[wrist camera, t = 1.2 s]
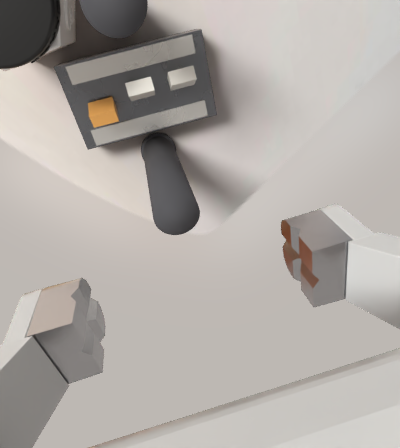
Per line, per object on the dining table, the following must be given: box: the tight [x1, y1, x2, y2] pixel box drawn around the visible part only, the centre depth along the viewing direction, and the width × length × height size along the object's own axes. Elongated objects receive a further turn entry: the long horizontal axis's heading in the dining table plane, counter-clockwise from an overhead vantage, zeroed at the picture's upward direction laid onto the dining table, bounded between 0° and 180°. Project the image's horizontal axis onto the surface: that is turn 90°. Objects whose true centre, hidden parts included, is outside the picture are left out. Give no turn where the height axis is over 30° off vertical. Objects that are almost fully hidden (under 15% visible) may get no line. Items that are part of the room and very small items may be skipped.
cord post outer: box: [141, 133, 200, 235], centre depth 32 cm, size 4×4×16 cm
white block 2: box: [167, 66, 197, 91], centre depth 31 cm, size 2×1×2 cm, turn 102°
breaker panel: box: [54, 29, 217, 149], centre depth 34 cm, size 14×8×3 cm, turn 102°
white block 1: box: [125, 77, 155, 101], centre depth 31 cm, size 2×1×2 cm, turn 102°
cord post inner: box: [80, 0, 147, 38], centre depth 25 cm, size 4×4×16 cm
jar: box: [0, 0, 76, 71], centre depth 25 cm, size 9×8×12 cm
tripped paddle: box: [88, 97, 119, 128], centre depth 31 cm, size 2×1×2 cm, turn 102°
